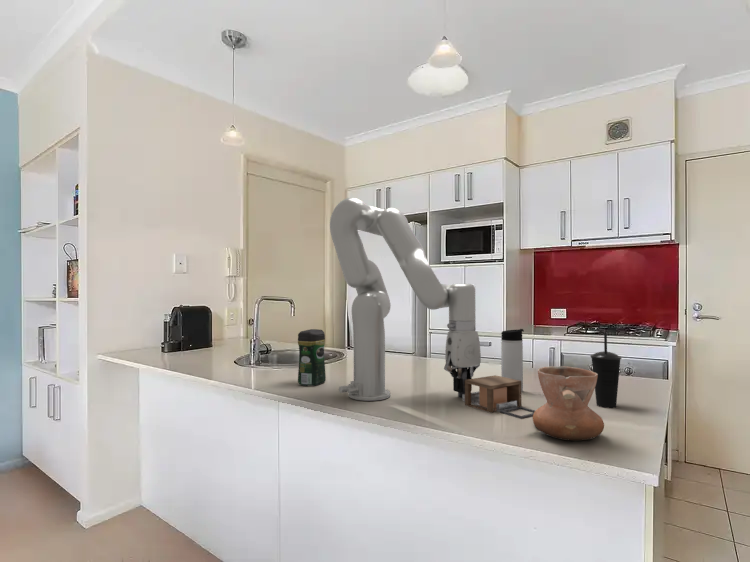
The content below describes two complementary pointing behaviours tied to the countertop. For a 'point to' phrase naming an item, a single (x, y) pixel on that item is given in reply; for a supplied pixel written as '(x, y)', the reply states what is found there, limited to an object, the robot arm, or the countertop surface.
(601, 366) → the drinking cup
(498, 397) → the block
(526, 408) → the dark piece
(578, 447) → the countertop surface
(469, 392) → the tunnel
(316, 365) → the coffee jar
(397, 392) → the countertop surface
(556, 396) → the ceramic jug
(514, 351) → the travel mug
